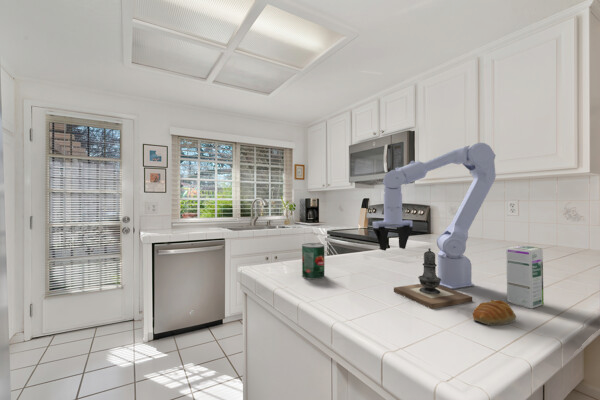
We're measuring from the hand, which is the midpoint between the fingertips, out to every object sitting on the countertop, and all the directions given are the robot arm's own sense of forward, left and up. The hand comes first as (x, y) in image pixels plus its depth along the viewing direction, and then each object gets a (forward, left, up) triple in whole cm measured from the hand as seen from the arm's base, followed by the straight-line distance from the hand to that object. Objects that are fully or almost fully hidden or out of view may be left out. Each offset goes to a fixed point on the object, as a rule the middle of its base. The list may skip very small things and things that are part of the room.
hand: (392, 249), depth 95 cm
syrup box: (-18, +29, -11) cm, 36 cm away
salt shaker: (0, +16, -9) cm, 18 cm away
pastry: (-1, +33, -11) cm, 34 cm away
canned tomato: (+22, -15, -11) cm, 29 cm away
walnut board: (0, +16, -10) cm, 19 cm away
